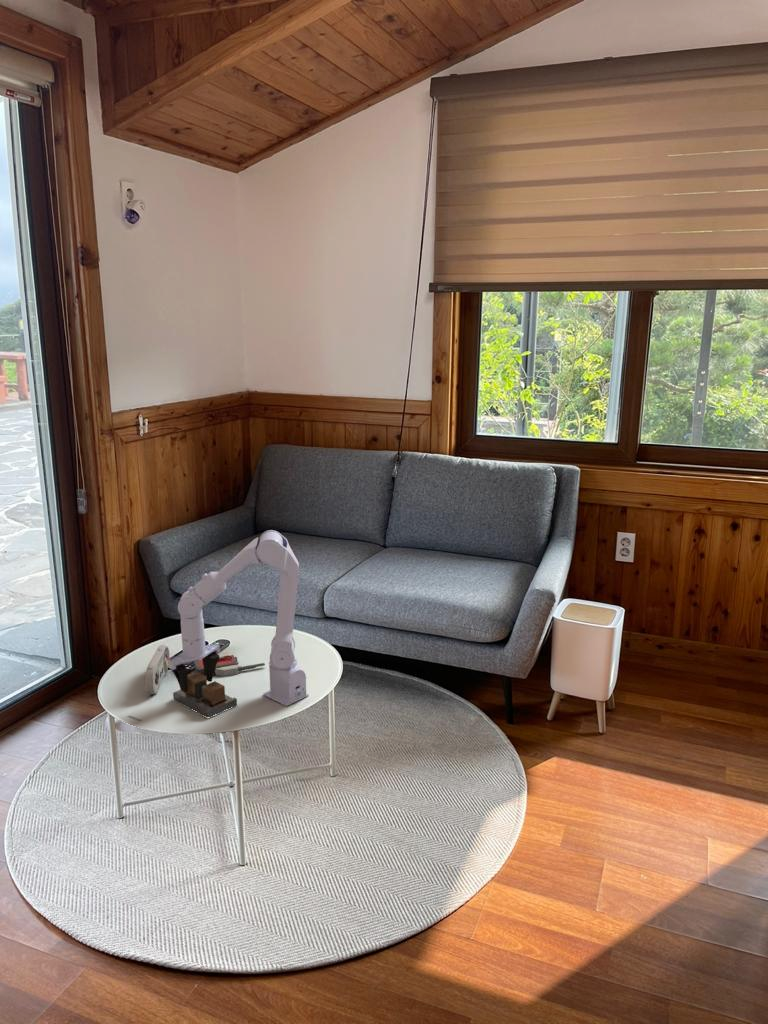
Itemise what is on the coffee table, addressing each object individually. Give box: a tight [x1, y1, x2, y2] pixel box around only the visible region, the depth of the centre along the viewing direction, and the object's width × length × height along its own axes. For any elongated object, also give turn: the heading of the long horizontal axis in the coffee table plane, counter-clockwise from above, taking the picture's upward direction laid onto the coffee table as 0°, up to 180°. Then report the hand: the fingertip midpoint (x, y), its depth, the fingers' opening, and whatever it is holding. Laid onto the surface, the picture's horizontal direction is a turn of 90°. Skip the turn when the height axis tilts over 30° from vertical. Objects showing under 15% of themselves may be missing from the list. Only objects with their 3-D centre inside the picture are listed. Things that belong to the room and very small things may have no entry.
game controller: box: [144, 644, 171, 695], centre depth 210 cm, size 20×2×8 cm, turn 3°
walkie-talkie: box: [192, 652, 266, 677], centre depth 219 cm, size 9×4×20 cm
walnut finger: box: [185, 671, 208, 699], centre depth 201 cm, size 5×4×6 cm
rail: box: [172, 680, 238, 718], centre depth 199 cm, size 15×9×6 cm, turn 48°
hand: (196, 685), depth 201 cm, fingers open, 7 cm apart
